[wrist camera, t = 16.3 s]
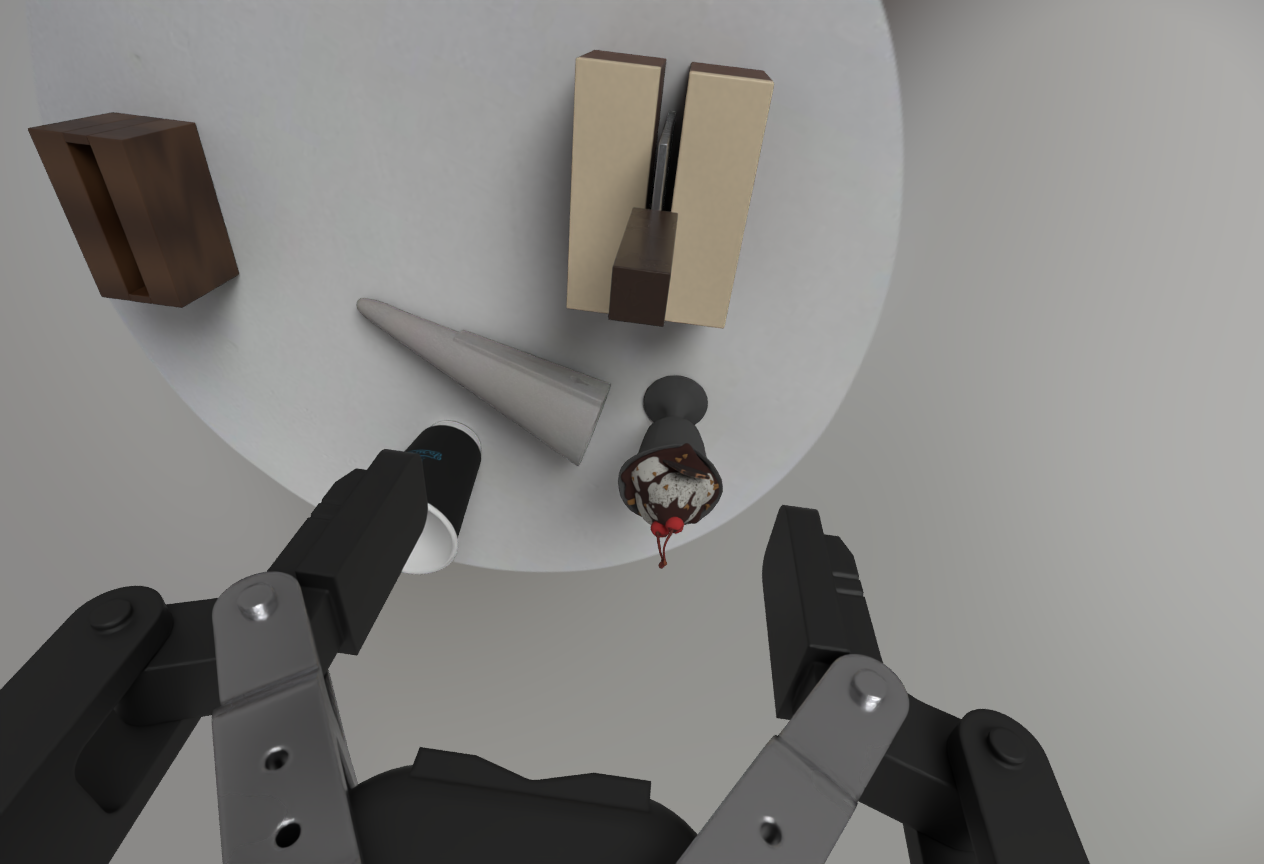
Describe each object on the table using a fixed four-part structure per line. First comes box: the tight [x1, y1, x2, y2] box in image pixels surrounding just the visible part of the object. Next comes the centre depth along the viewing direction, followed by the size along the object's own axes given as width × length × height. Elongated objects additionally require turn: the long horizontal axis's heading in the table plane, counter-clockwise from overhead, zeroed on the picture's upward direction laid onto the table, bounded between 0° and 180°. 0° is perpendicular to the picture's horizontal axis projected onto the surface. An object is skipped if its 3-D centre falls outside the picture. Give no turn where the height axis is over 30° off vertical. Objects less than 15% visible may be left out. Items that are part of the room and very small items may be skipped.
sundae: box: [618, 376, 723, 569], centre depth 41 cm, size 7×7×15 cm
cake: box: [567, 50, 774, 328], centre depth 35 cm, size 13×10×6 cm
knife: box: [608, 111, 678, 327], centre depth 30 cm, size 8×2×18 cm, turn 174°
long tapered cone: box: [357, 298, 611, 466], centre depth 45 cm, size 6×6×19 cm
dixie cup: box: [402, 421, 481, 574], centre depth 47 cm, size 8×8×11 cm
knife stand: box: [28, 112, 239, 308], centre depth 39 cm, size 10×5×6 cm, turn 174°
